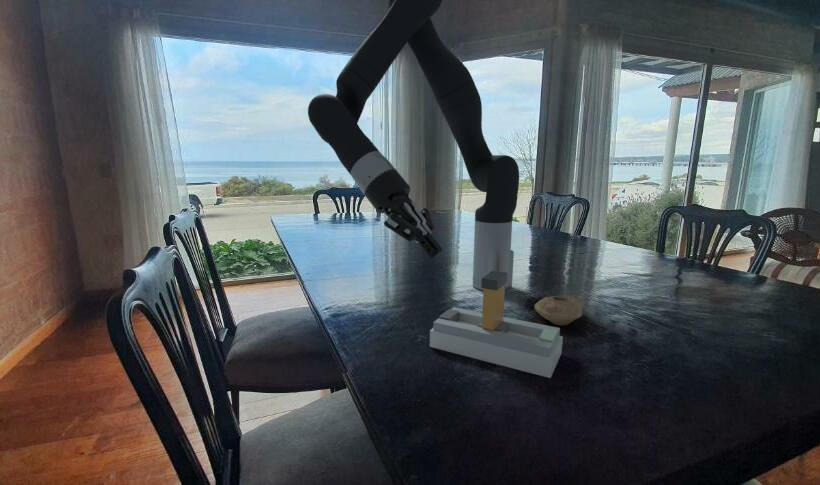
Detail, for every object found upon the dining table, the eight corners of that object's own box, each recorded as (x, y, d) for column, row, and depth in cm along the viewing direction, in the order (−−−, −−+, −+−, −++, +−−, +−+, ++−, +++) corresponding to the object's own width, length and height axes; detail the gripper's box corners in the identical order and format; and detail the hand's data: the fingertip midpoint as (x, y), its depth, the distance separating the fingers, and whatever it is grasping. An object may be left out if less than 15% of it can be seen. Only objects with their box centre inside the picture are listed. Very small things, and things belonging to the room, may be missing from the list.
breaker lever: (475, 334, 65) (477, 277, 63) (486, 323, 69) (488, 270, 67) (498, 340, 63) (501, 281, 61) (508, 328, 67) (511, 273, 65)
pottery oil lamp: (599, 316, 80) (607, 292, 76) (559, 346, 76) (564, 323, 71) (564, 292, 86) (569, 268, 82) (525, 318, 82) (528, 295, 77)
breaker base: (429, 346, 67) (430, 320, 66) (451, 328, 75) (452, 304, 74) (550, 378, 57) (552, 347, 56) (561, 353, 65) (563, 326, 64)
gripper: (370, 167, 65) (434, 247, 61) (410, 168, 76) (466, 236, 72) (346, 197, 69) (405, 275, 65) (387, 194, 80) (440, 260, 76)
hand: (437, 254), depth 69 cm, fingers closed
